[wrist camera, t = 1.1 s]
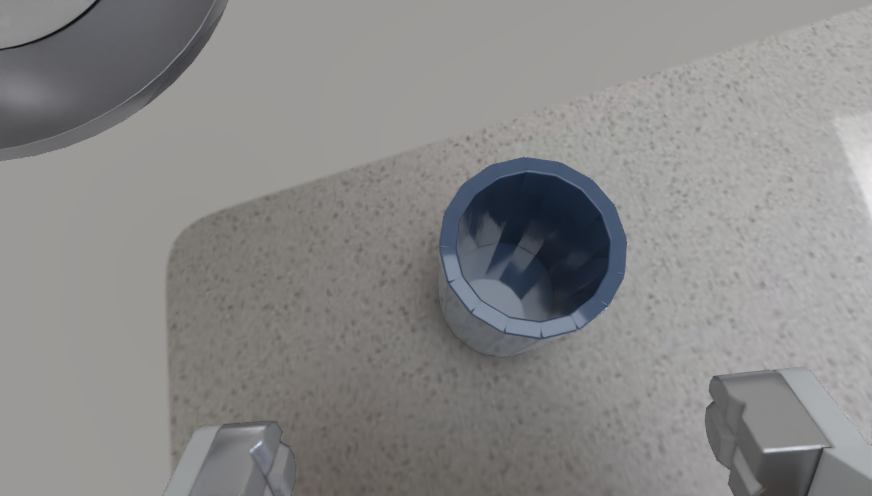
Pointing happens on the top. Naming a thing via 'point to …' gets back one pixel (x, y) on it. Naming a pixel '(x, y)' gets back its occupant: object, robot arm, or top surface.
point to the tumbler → (527, 256)
